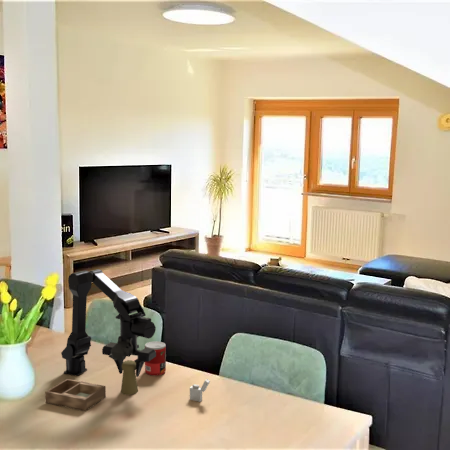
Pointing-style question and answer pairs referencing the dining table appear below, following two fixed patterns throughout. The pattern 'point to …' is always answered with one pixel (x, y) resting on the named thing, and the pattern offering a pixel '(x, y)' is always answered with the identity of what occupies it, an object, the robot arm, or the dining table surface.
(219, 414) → the dining table surface
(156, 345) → the canned food
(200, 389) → the lighter
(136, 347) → the robot arm
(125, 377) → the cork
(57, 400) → the socket box
